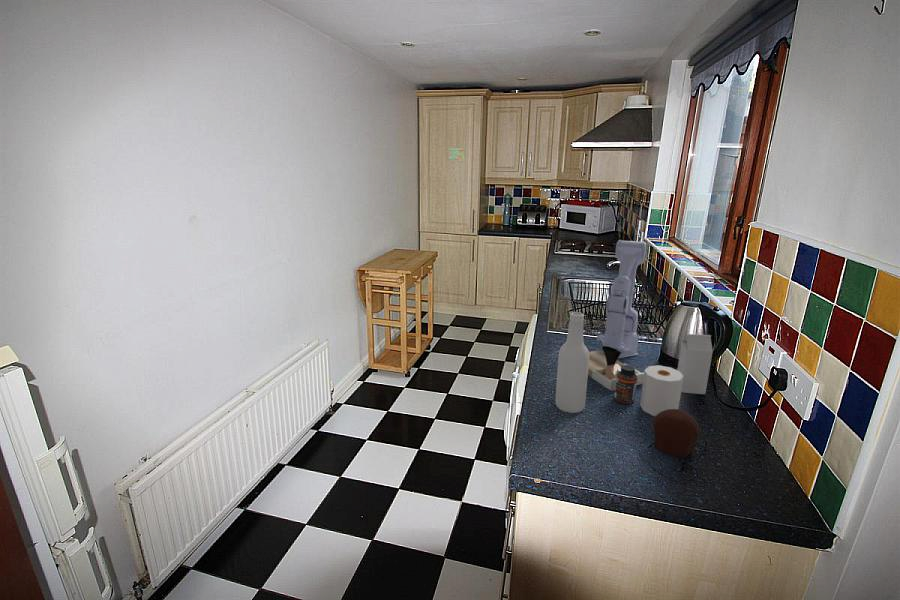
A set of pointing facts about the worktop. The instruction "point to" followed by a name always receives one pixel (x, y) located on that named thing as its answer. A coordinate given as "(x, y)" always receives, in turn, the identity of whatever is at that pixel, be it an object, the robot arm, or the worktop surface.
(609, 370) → the salmon pink cube
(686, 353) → the milk carton
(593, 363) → the beech board
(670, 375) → the toilet paper
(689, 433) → the muffin
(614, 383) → the tray
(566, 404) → the alcohol
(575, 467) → the worktop surface
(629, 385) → the supplement bottle
